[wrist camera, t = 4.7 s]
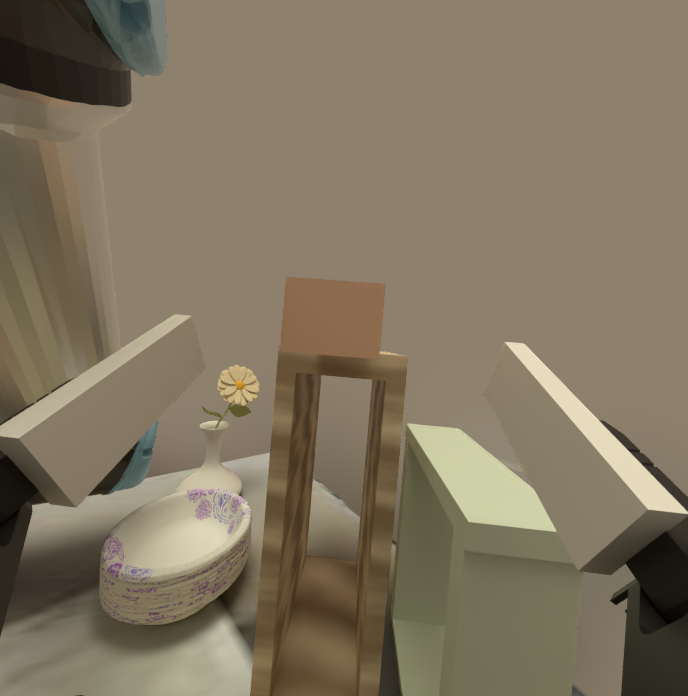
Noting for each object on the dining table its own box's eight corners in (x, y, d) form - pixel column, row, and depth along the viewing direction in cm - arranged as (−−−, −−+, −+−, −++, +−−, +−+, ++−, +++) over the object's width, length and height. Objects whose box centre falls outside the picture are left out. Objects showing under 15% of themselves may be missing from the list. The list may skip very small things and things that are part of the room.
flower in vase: (169, 525, 42) (181, 366, 42) (176, 488, 52) (186, 360, 52) (255, 508, 48) (266, 369, 48) (246, 477, 58) (256, 363, 58)
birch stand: (374, 742, 21) (408, 356, 21) (248, 722, 21) (278, 345, 21) (367, 570, 37) (385, 351, 37) (294, 561, 37) (312, 345, 37)
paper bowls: (51, 640, 26) (57, 558, 26) (170, 532, 41) (174, 480, 41) (199, 675, 24) (206, 587, 24) (266, 549, 39) (271, 495, 39)
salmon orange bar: (379, 359, 11) (385, 284, 11) (279, 350, 11) (285, 276, 11) (363, 350, 37) (365, 328, 37) (334, 347, 37) (336, 325, 37)
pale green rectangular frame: (550, 964, 14) (591, 535, 13) (430, 941, 14) (468, 521, 14) (442, 617, 31) (459, 428, 31) (390, 610, 31) (406, 423, 31)
